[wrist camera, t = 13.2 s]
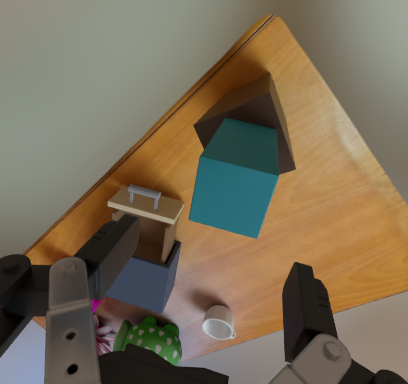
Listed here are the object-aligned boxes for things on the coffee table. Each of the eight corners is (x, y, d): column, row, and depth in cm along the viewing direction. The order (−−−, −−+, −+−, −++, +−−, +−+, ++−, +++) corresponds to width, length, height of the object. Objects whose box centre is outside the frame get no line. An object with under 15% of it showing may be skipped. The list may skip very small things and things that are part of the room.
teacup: (200, 307, 73) (195, 325, 68) (220, 296, 69) (217, 314, 64) (226, 329, 74) (223, 348, 70) (247, 319, 71) (245, 339, 66)
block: (225, 117, 26) (199, 155, 17) (276, 129, 26) (279, 175, 16) (215, 163, 29) (188, 220, 19) (261, 175, 28) (257, 239, 19)
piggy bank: (132, 301, 78) (104, 351, 65) (192, 323, 76) (176, 380, 63) (127, 330, 85) (100, 380, 72) (181, 351, 84) (165, 406, 71)
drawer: (124, 167, 57) (107, 181, 51) (187, 184, 55) (177, 200, 49) (122, 234, 65) (107, 253, 59) (176, 250, 64) (166, 271, 58)
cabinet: (122, 225, 65) (102, 248, 58) (181, 242, 64) (169, 268, 56) (120, 269, 73) (103, 295, 65) (173, 285, 71) (162, 314, 63)
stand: (224, 93, 47) (192, 125, 28) (270, 73, 44) (270, 92, 25) (241, 136, 49) (223, 192, 30) (286, 120, 46) (296, 169, 27)
